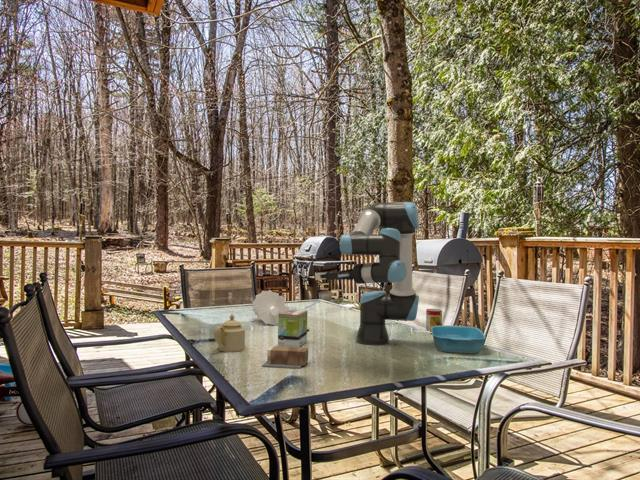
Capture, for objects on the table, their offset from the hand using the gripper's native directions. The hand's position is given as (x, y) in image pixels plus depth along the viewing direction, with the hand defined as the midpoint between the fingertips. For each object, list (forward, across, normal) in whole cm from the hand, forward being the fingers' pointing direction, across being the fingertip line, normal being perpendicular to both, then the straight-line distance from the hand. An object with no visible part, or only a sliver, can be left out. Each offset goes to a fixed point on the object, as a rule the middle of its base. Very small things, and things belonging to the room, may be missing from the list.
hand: (316, 276), depth 190 cm
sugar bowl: (+37, -16, -28) cm, 49 cm away
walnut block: (-3, -14, -29) cm, 32 cm away
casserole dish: (-33, +54, -38) cm, 74 cm away
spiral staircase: (+72, +44, -27) cm, 89 cm away
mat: (+5, -18, -31) cm, 36 cm away
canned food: (-12, +77, -37) cm, 86 cm away
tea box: (+25, +10, -30) cm, 41 cm away
